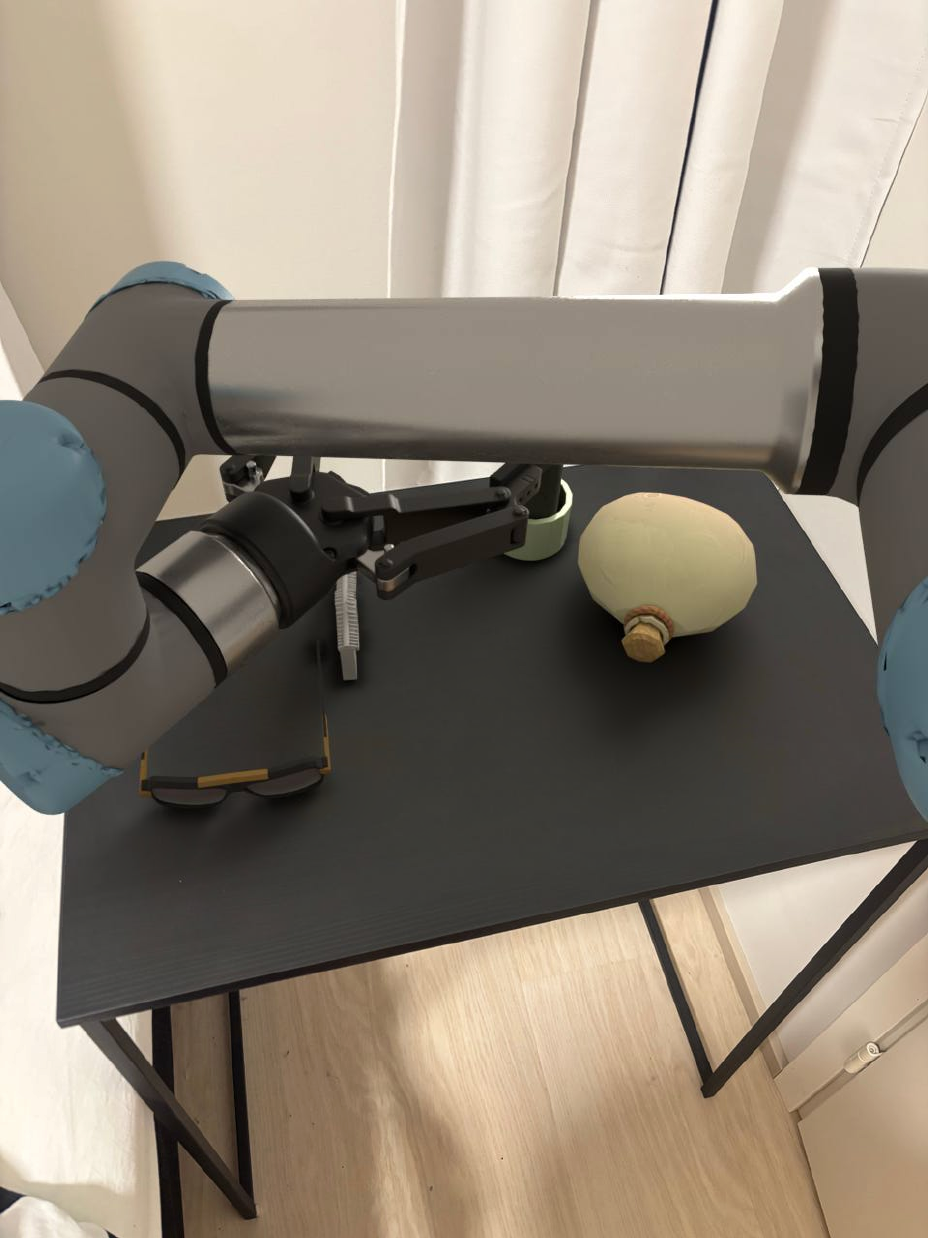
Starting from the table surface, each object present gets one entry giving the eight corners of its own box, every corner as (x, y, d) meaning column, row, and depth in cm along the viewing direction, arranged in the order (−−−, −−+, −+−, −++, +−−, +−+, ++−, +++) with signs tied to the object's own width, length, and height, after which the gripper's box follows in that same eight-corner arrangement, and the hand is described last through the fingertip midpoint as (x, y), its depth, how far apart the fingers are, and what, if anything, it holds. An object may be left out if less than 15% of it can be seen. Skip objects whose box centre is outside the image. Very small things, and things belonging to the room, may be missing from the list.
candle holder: (578, 523, 91) (585, 485, 88) (544, 571, 87) (550, 534, 83) (511, 495, 94) (514, 457, 90) (474, 541, 89) (476, 503, 86)
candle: (504, 506, 92) (525, 274, 72) (555, 513, 91) (590, 282, 72) (498, 543, 89) (517, 310, 69) (550, 550, 88) (585, 318, 69)
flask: (752, 563, 88) (721, 716, 78) (591, 522, 91) (541, 664, 81) (780, 495, 81) (751, 654, 71) (604, 452, 84) (551, 599, 74)
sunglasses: (321, 647, 81) (316, 610, 77) (335, 802, 71) (329, 769, 67) (157, 665, 79) (143, 629, 75) (149, 827, 70) (132, 795, 66)
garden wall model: (338, 579, 86) (333, 534, 81) (357, 578, 86) (353, 533, 81) (340, 684, 78) (335, 641, 74) (361, 683, 78) (357, 640, 74)
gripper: (111, 528, 59) (339, 374, 70) (410, 738, 50) (619, 522, 60) (76, 435, 53) (330, 283, 64) (407, 653, 44) (639, 432, 55)
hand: (471, 399), depth 62 cm, fingers open, 13 cm apart
